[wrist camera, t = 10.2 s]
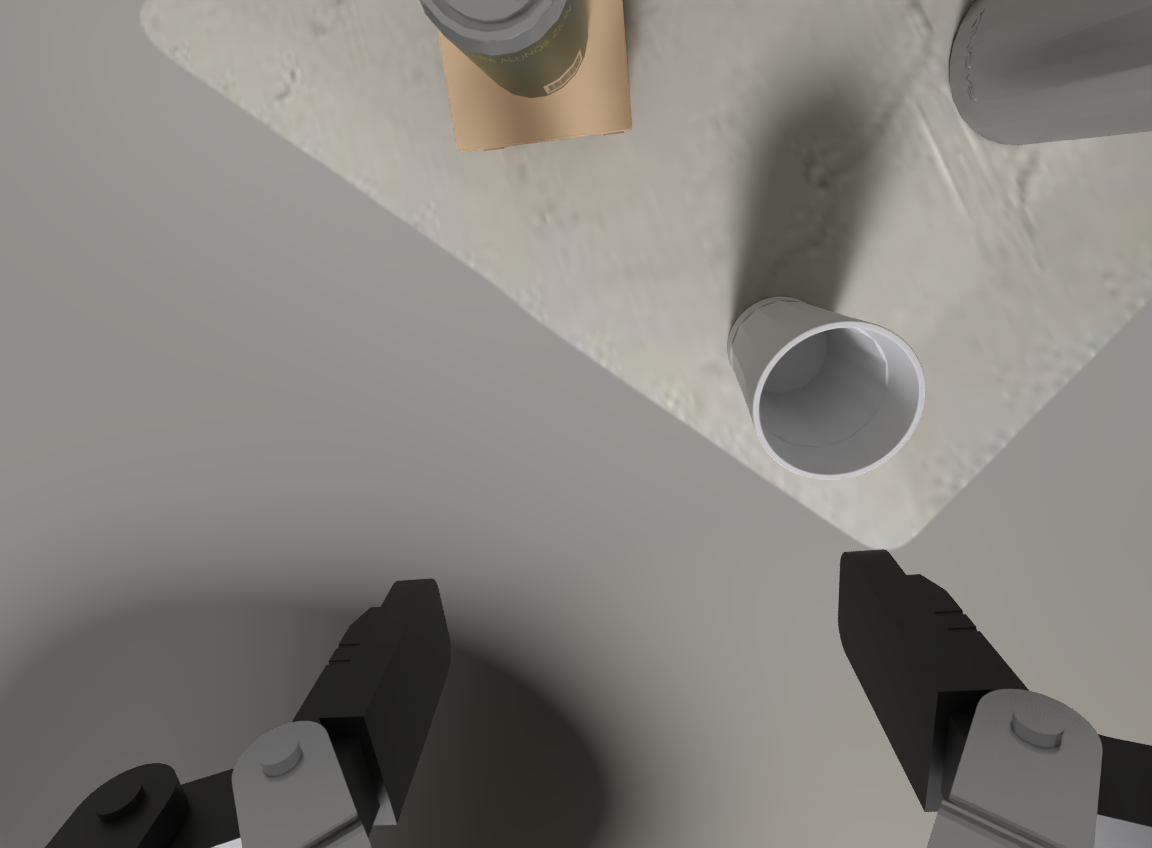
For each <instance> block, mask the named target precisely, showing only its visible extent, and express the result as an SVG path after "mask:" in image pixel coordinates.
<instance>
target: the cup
mask: <svg viewBox="0 0 1152 848" xmlns="http://www.w3.org/2000/svg"><path fill="white" fill-rule="evenodd" d="M727 353H728V359H729V362H730V365H731V367H732V369H733V371H734V372H735V374H736V377H737V380H738V382H739V385H740V388H741V390H742V393H743V396H744V398H745V401H746V404H747V407H748V409H749V412H750V415H751V418H752V421H753V424H754V428H755V431H756V434H757V436H758V438H759V440H760V442H761V444H762V446H763V447H764V449H765V450H766V452H767V453H768V454H769V455H770V456H771V457H772V458H773V459H774V460H775V461H776V462H777V463H778V464H780V465H781V466H783V467H784V468H786V469H787V470H789V471H791V472H793V473H796V474H798V475H801V476H804V477H808V478H813V479H822V480H835V479H843V478H849V477H853V476H856V475H860V474H862V473H865V472H867V471H870V470H872V469H874V468H876V467H877V466H879V465H881V464H882V463H884V462H885V461H887V460H888V459H890V458H891V457H892V456H893V455H894V454H896V453H897V452H898V451H899V450H900V449H901V448H902V447H903V446H904V444H905V443H906V442H907V441H908V439H909V438H910V437H911V435H912V434H913V432H914V430H915V429H916V427H917V425H918V423H919V420H920V418H921V415H922V412H923V408H924V404H925V396H926V384H925V377H924V372H923V369H922V366H921V364H920V361H919V359H918V357H917V356H916V354H915V352H914V351H913V350H912V348H911V347H910V346H909V345H908V344H907V343H906V342H905V341H904V340H903V339H902V338H901V337H899V336H898V335H897V334H895V333H894V332H892V331H890V330H888V329H886V328H884V327H882V326H879V325H876V324H873V323H869V322H866V321H862V320H858V319H855V318H851V317H848V316H844V315H841V314H838V313H835V312H832V311H828V310H825V309H822V308H819V307H816V306H813V305H809V304H806V303H805V302H803V301H801V300H798V299H795V298H791V297H771V298H767V299H764V300H761V301H759V302H757V303H755V304H753V305H752V306H750V307H749V308H748V309H746V310H745V311H744V312H743V313H742V314H741V315H740V316H739V317H738V319H737V320H736V322H735V323H734V325H733V327H732V329H731V331H730V334H729V338H728V344H727Z"/></svg>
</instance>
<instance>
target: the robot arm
mask: <svg viewBox="0 0 1152 848" xmlns="http://www.w3.org/2000/svg"><path fill="white" fill-rule="evenodd" d="M949 69H950V88H951V92H952V96H953V101H954V103H955V105H956V107H957V109H958V111H959V113H960V115H961V117H962V118H963V119H964V121H965V122H966V123H967V124H968V125H969V126H970V128H971V129H972V130H974V131H975V132H977V133H978V134H980V135H981V136H983V137H984V138H986V139H989V140H992V141H995V142H998V143H1001V144H1011V145H1024V144H1033V143H1043V142H1052V141H1062V140H1075V139H1084V138H1093V137H1102V136H1111V135H1121V134H1130V133H1139V132H1148V131H1152V0H976V1H975V2H974V3H973V4H972V6H971V7H970V9H969V11H968V13H967V14H966V16H965V18H964V20H963V21H962V23H961V25H960V27H959V30H958V33H957V36H956V38H955V41H954V44H953V48H952V54H951V59H950V65H949ZM839 582H840V583H839V608H838V609H839V610H838V625H839V633H840V637H841V642H842V645H843V648H844V651H845V653H846V655H847V657H848V659H849V661H850V663H851V665H852V667H853V669H854V671H855V673H856V675H857V677H858V679H859V681H860V683H861V685H862V687H863V689H864V691H865V693H866V695H867V697H868V699H869V701H870V703H871V705H872V707H873V709H874V711H875V713H876V715H877V717H878V719H879V721H880V723H881V725H882V727H883V729H884V731H885V733H886V735H887V737H888V739H889V741H890V743H891V745H892V747H893V749H894V751H895V753H896V755H897V757H898V759H899V761H900V763H901V765H902V767H903V769H904V771H905V773H906V775H907V777H908V779H909V781H910V783H911V785H912V787H913V789H914V791H915V793H916V795H917V797H918V799H919V801H920V803H921V805H922V807H923V809H924V811H925V812H932V811H933V812H936V811H938V814H937V817H936V820H935V823H934V826H933V829H932V833H931V836H930V839H929V842H928V845H927V848H1152V746H1150V745H1145V744H1140V743H1135V742H1130V741H1124V740H1120V739H1114V738H1111V737H1106V736H1102V735H1099V734H1097V732H1096V731H1095V729H1094V728H1093V727H1092V726H1091V724H1090V723H1089V722H1088V721H1087V720H1086V719H1084V718H1083V717H1082V716H1081V715H1080V714H1078V713H1077V712H1076V711H1074V710H1073V709H1071V708H1070V707H1068V706H1066V705H1065V704H1063V703H1061V702H1059V701H1057V700H1055V699H1053V698H1050V697H1048V696H1045V695H1042V694H1039V693H1036V692H1032V691H1029V690H1028V689H1027V688H1026V686H1025V685H1024V684H1023V683H1022V681H1021V680H1020V679H1019V678H1018V677H1017V676H1016V674H1015V673H1014V672H1013V671H1012V669H1011V668H1010V667H1009V666H1008V665H1007V664H1006V662H1005V661H1004V660H1003V659H1002V657H1001V656H1000V655H999V654H998V653H997V651H996V650H995V649H994V648H993V647H992V645H991V644H990V643H989V642H988V641H987V639H986V638H985V637H984V636H983V635H982V633H981V632H980V631H977V629H976V626H975V625H974V624H973V622H972V621H971V620H970V619H969V618H968V616H967V615H966V614H963V611H962V609H961V608H960V607H959V606H958V604H957V603H956V602H955V601H954V600H953V598H952V597H951V596H950V595H949V594H948V592H947V591H946V590H944V589H943V588H941V587H940V586H938V585H936V584H935V583H933V582H932V581H930V580H928V579H927V578H925V577H924V576H922V575H920V574H916V575H906V574H905V573H904V572H903V570H902V569H901V568H900V566H899V565H898V564H897V562H896V561H895V560H894V559H893V557H892V556H891V555H890V553H889V552H888V551H887V550H884V549H883V550H868V551H853V552H844V553H843V554H842V556H841V561H840V581H839ZM450 664H451V642H450V637H449V632H448V628H447V624H446V619H445V615H444V610H443V606H442V602H441V598H440V593H439V589H438V585H437V583H436V581H435V580H434V579H418V580H404V581H396V582H395V583H394V584H393V586H392V588H391V589H390V591H389V593H388V595H387V597H386V598H385V600H384V602H383V604H382V605H381V607H372V608H370V609H368V610H367V611H366V612H365V613H364V614H363V615H361V616H360V617H359V618H358V619H357V620H356V621H355V622H353V623H352V624H351V625H350V627H349V628H348V630H347V632H346V633H345V635H344V637H343V638H342V640H341V642H340V643H339V648H338V649H336V650H335V652H334V653H333V655H332V656H331V658H330V660H329V665H326V666H325V668H324V670H323V671H322V673H321V675H320V677H319V678H318V680H317V681H316V683H315V685H314V686H313V688H312V690H311V691H310V693H309V695H308V696H307V698H306V700H305V701H304V703H303V705H302V706H301V708H300V709H299V711H298V713H297V714H296V716H295V718H294V719H293V721H292V723H288V724H285V725H282V726H280V727H277V728H275V729H273V730H271V731H269V732H268V733H266V734H264V735H263V736H261V737H260V738H258V739H257V740H256V741H255V742H254V743H252V745H250V746H249V747H248V748H247V749H246V751H245V752H244V753H243V754H242V755H241V757H240V758H239V760H238V761H237V763H236V765H235V767H234V769H231V770H228V771H224V772H221V773H218V774H215V775H212V776H209V777H205V778H202V779H198V780H195V781H192V782H189V783H186V784H183V785H181V784H180V782H179V779H178V777H177V775H176V773H175V771H174V769H173V768H171V767H170V766H168V765H166V764H161V763H153V764H146V765H142V766H138V767H135V768H133V769H130V770H127V771H125V772H123V773H121V774H119V775H117V776H116V777H114V778H112V779H111V780H109V781H108V782H106V783H104V784H103V785H101V786H100V787H99V788H97V789H96V790H95V791H94V792H92V793H91V794H90V795H89V796H88V797H87V798H86V799H85V800H84V801H83V802H82V803H81V804H80V805H79V806H78V807H77V809H76V810H75V811H74V812H73V814H72V815H71V816H70V817H69V819H68V820H67V821H66V822H65V824H64V825H63V826H62V827H61V828H60V830H59V831H58V832H57V833H56V835H55V836H54V837H53V838H52V840H51V841H50V842H49V843H48V845H47V846H46V847H45V848H371V845H370V842H369V840H368V837H369V834H370V832H371V829H372V826H373V825H397V823H398V820H399V817H400V814H401V811H402V808H403V805H404V802H405V799H406V796H407V793H408V791H409V787H410V785H411V782H412V779H413V776H414V773H415V770H416V767H417V764H418V761H419V758H420V755H421V753H422V750H423V747H424V744H425V740H426V737H427V735H428V732H429V729H430V726H431V723H432V720H433V717H434V714H435V711H436V709H437V706H438V703H439V699H440V697H441V694H442V691H443V688H444V685H445V682H446V679H447V676H448V673H449V669H450Z"/></svg>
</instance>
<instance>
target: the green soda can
mask: <svg viewBox="0 0 1152 848" xmlns="http://www.w3.org/2000/svg"><path fill="white" fill-rule="evenodd" d="M420 3H421V5H422V7H423V9H424V11H425V13H426V15H427V16H428V17H429V19H430V20H431V21H432V22H433V23H434V24H435V26H436V27H437V28H438V29H439V30H440V31H441V33H442V34H443V35H444V36H445V37H446V38H447V39H448V40H449V41H450V42H451V43H453V44H454V45H455V46H456V47H457V48H458V49H459V50H460V51H461V52H462V53H464V54H465V55H466V56H467V57H468V58H469V59H470V60H471V61H472V62H473V63H475V64H476V65H477V66H478V67H479V68H480V69H481V70H482V71H483V72H484V73H486V74H487V75H488V76H489V77H490V78H491V79H492V80H493V81H494V82H495V83H497V84H498V85H499V86H501V87H502V88H504V89H505V90H507V91H509V92H510V93H512V94H514V95H518V96H523V97H527V98H536V97H543V96H548V95H550V94H552V93H554V92H556V91H558V90H560V89H562V88H563V87H564V86H565V85H566V84H567V83H568V82H569V81H570V80H571V79H572V78H573V77H574V76H575V75H576V73H577V71H578V69H579V67H580V65H581V63H582V61H583V59H584V57H585V52H586V46H587V41H588V28H587V18H586V10H585V4H584V0H420Z"/></svg>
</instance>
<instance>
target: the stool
mask: <svg viewBox="0 0 1152 848" xmlns="http://www.w3.org/2000/svg"><path fill="white" fill-rule="evenodd" d="M584 4H585V10H586V18H587V28H588V41H587V46H586V52H585V57H584V59H583V61H582V63H581V65H580V67H579V69H578V71H577V73H576V75H575V76H574V77H573V78H572V79H571V80H570V81H569V82H568V83H567V84H566V85H565V86H564V87H563V88H562V89H560V90H558V91H556V92H554V93H552V94H550V95H548V96H543V97H536V98H527V97H523V96H518V95H514V94H512V93H510V92H509V91H507V90H505V89H504V88H502V87H501V86H499V85H498V84H497V83H495V82H494V81H493V80H492V79H491V78H490V77H489V76H488V75H487V74H486V73H484V72H483V71H482V70H481V69H480V68H479V67H478V66H477V65H476V64H475V63H473V62H472V61H471V60H470V59H469V58H468V57H467V56H466V55H465V54H464V53H462V52H461V51H460V50H459V49H458V48H457V47H456V46H455V45H454V44H453V43H451V42H450V41H449V40H448V39H447V38H446V37H445V36H444V35H443V34H442V33H441V31H440V30H439V29H438V28H437V30H438V36H439V42H440V48H441V54H442V60H443V66H444V72H445V78H446V84H447V90H448V96H449V102H450V108H451V114H452V120H453V126H454V132H455V138H456V144H457V150H458V151H460V152H469V151H476V150H484V151H487V150H494V149H502V148H504V147H507V146H514V145H522V144H530V143H537V142H545V141H553V140H560V139H568V138H575V137H583V136H591V135H598V134H603V135H609V134H617V133H624V131H629V130H632V120H631V107H630V94H629V80H628V67H627V54H626V41H625V27H624V14H623V1H622V0H584Z"/></svg>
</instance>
